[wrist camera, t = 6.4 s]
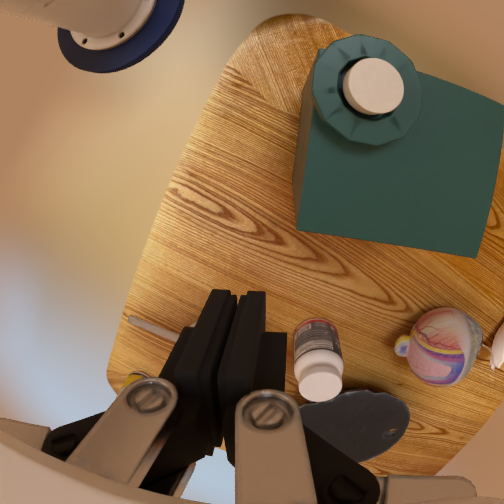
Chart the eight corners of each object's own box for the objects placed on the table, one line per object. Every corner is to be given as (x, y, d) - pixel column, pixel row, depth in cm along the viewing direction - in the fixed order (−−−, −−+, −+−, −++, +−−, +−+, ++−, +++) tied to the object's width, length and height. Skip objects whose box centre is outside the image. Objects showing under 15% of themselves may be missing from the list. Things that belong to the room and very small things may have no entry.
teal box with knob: (289, 180, 33) (291, 239, 16) (301, 81, 29) (317, 25, 12) (397, 198, 33) (488, 269, 15) (411, 104, 29) (521, 94, 11)
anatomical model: (448, 355, 40) (472, 400, 31) (379, 349, 40) (395, 401, 31) (476, 300, 36) (510, 340, 27) (405, 287, 36) (433, 334, 27)
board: (429, 397, 43) (437, 419, 39) (341, 459, 51) (342, 479, 46) (339, 343, 40) (343, 369, 36) (248, 422, 48) (244, 445, 44)
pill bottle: (335, 350, 41) (343, 404, 32) (293, 351, 42) (293, 406, 32) (338, 315, 39) (350, 368, 30) (294, 316, 40) (294, 369, 30)
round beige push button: (339, 109, 14) (345, 106, 12) (344, 59, 13) (350, 51, 11) (390, 120, 13) (401, 119, 12) (395, 70, 12) (406, 65, 11)
